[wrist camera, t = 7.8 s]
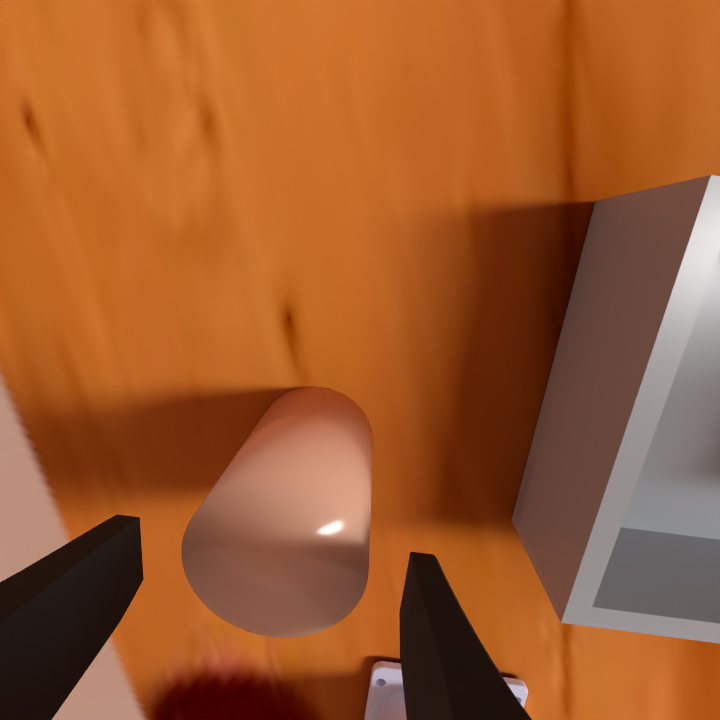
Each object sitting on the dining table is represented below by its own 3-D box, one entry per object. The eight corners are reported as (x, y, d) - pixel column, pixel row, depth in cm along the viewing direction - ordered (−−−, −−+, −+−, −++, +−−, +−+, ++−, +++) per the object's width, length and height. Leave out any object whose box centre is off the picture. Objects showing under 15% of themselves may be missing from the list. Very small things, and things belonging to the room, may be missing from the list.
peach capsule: (365, 495, 18) (357, 648, 11) (257, 482, 18) (183, 624, 11) (379, 394, 16) (379, 496, 9) (262, 380, 16) (179, 471, 10)
